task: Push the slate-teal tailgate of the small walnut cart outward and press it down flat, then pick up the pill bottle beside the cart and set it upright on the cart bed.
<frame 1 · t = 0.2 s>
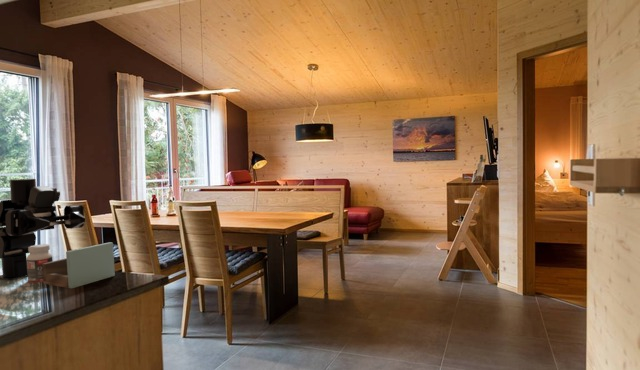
hand: (67, 221, 108), 17 cm above the countertop, tool horizontal, fingers open, 9 cm apart
pill bottle: (41, 283, 114), on the countertop
tailgate: (91, 264, 110), point 5 cm above the countertop, hinge at 0.0°
cart: (78, 282, 113), on the countertop
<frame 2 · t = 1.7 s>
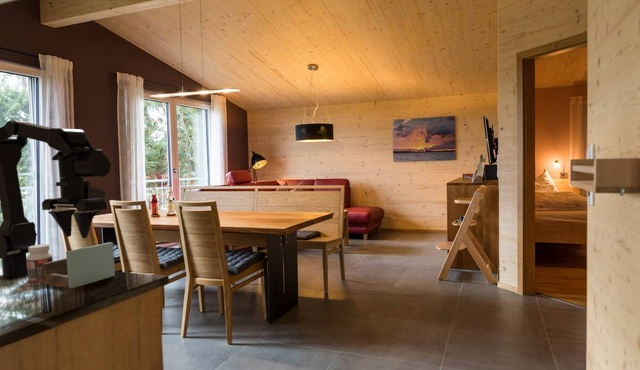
hand: (76, 237, 112), 12 cm above the countertop, tool pointing down, fingers open, 6 cm apart
nothing on the countertop moved.
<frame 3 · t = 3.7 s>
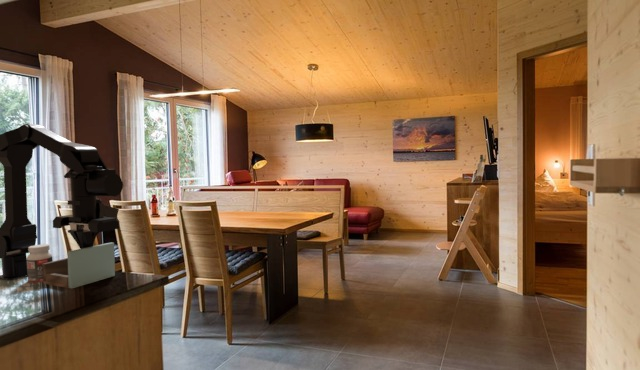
hand: (87, 256, 110), 7 cm above the countertop, tool pointing down, fingers closed
tailgate: (92, 264, 110), point 5 cm above the countertop, hinge at 3.4°, touching gripper
everything else where it was.
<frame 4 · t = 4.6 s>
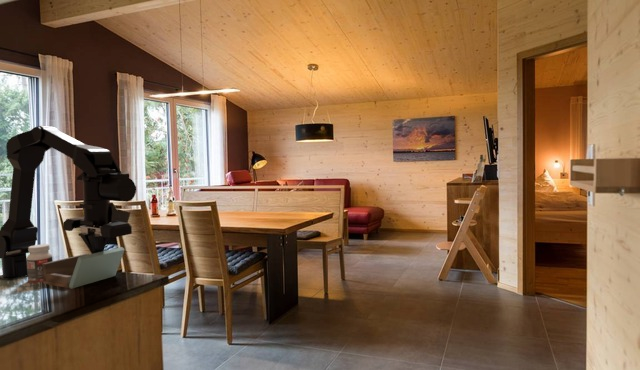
hand: (98, 260, 108), 7 cm above the countertop, tool pointing down, fingers closed, pressing on tailgate
tailgate: (97, 267, 109), point 5 cm above the countertop, hinge at 30.7°, touching gripper
everything else where it was.
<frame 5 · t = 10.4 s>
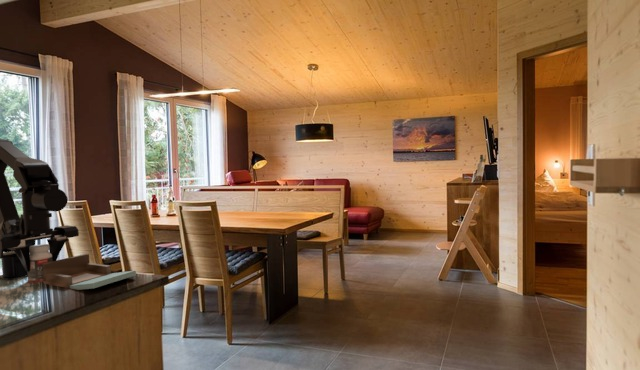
hand: (40, 268, 113), 4 cm above the countertop, tool pointing down, fingers closed on pill bottle, 6 cm apart
pill bottle: (41, 283, 114), on the countertop, touching gripper
tailgate: (104, 280, 108), point 2 cm above the countertop, hinge at 79.9°
when the fingers open (7 cm above the countertop, at t = 14.9 s): pill bottle drops 1 cm, resting on cart.
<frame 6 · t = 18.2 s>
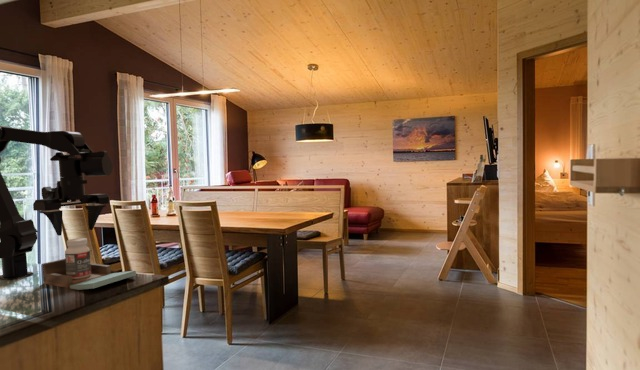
hand: (75, 232, 120), 12 cm above the countertop, tool pointing down, fingers open, 9 cm apart
pill bottle: (79, 277, 112), point 1 cm above the countertop, touching cart
everything else where it was.
at the end: tailgate at +80° (first picture: +0°); pill bottle 0.1 cm from the target spot, point 1.3 cm above the countertop; pill bottle tilted 0° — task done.
